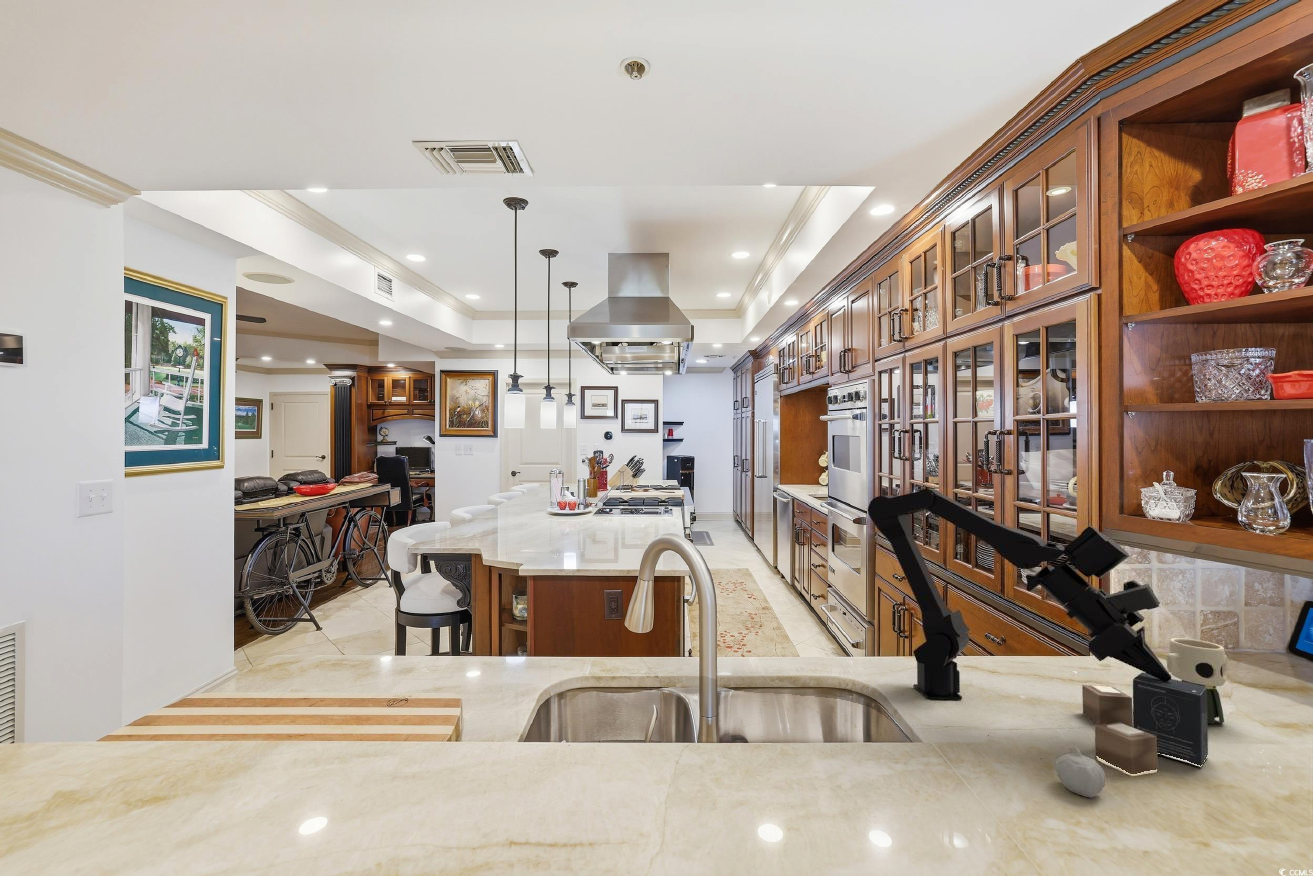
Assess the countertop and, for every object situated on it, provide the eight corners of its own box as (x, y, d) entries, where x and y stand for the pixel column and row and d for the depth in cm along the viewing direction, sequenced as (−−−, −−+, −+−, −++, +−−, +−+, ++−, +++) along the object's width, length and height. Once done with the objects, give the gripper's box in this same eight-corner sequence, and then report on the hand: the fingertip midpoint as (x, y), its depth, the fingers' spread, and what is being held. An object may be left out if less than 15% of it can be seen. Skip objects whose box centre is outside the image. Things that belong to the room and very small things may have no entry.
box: (1208, 758, 86) (1208, 686, 87) (1201, 769, 83) (1201, 694, 83) (1141, 737, 93) (1141, 670, 93) (1131, 747, 89) (1132, 677, 89)
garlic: (1049, 776, 80) (1048, 737, 81) (1095, 784, 78) (1094, 744, 79) (1063, 799, 75) (1062, 757, 75) (1113, 807, 73) (1112, 764, 73)
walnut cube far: (1099, 725, 98) (1098, 693, 98) (1082, 713, 103) (1082, 683, 103) (1132, 728, 97) (1131, 695, 97) (1114, 716, 102) (1113, 685, 102)
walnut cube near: (1131, 777, 80) (1130, 738, 81) (1095, 760, 85) (1094, 723, 86) (1157, 773, 82) (1156, 734, 82) (1121, 756, 87) (1119, 720, 87)
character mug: (1190, 728, 97) (1187, 649, 98) (1151, 711, 104) (1148, 637, 105) (1250, 728, 98) (1247, 649, 99) (1207, 711, 105) (1204, 637, 106)
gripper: (1111, 571, 86) (1219, 663, 78) (1124, 559, 100) (1217, 637, 92) (1051, 616, 91) (1146, 707, 83) (1071, 599, 105) (1154, 676, 96)
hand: (1169, 679), depth 88 cm, fingers closed, pressing on box
